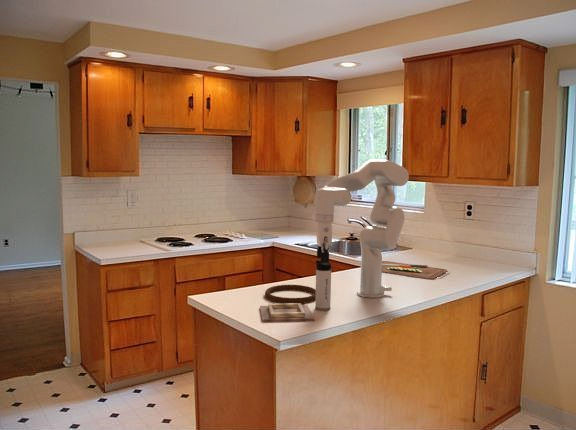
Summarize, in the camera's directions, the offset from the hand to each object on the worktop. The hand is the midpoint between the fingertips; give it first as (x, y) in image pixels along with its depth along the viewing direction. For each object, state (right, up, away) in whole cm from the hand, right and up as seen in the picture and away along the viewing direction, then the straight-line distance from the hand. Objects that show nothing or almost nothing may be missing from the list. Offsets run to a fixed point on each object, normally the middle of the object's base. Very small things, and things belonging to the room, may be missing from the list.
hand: (322, 259), depth 214 cm
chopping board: (+52, -13, +78) cm, 94 cm away
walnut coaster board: (-15, -21, -6) cm, 27 cm away
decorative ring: (-10, -19, +22) cm, 30 cm away
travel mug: (0, -21, +3) cm, 21 cm away
